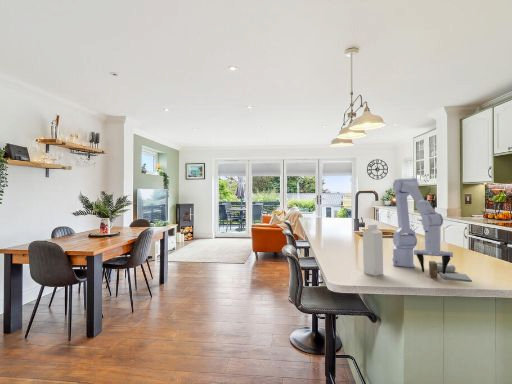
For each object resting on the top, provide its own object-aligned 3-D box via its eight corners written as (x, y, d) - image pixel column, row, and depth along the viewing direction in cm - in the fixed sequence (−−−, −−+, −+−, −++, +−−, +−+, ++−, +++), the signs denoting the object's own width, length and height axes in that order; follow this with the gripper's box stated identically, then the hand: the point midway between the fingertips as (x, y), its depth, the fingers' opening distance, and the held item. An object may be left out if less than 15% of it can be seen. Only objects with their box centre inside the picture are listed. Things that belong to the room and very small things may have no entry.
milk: (383, 274, 131) (382, 225, 132) (374, 276, 128) (373, 225, 129) (372, 271, 137) (371, 224, 137) (363, 273, 134) (362, 224, 134)
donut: (460, 264, 132) (444, 267, 129) (461, 272, 132) (444, 274, 129) (440, 260, 142) (424, 262, 139) (440, 267, 142) (425, 269, 139)
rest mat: (442, 278, 122) (442, 277, 122) (439, 273, 132) (439, 271, 132) (471, 281, 118) (471, 280, 118) (465, 275, 127) (465, 274, 127)
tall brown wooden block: (431, 277, 125) (430, 263, 125) (429, 274, 130) (428, 260, 130) (437, 278, 124) (437, 264, 124) (435, 275, 129) (435, 261, 129)
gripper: (414, 241, 127) (415, 273, 126) (454, 243, 121) (454, 276, 120) (413, 239, 133) (413, 269, 133) (450, 241, 127) (451, 272, 127)
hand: (433, 272), depth 127 cm, fingers open, 7 cm apart
